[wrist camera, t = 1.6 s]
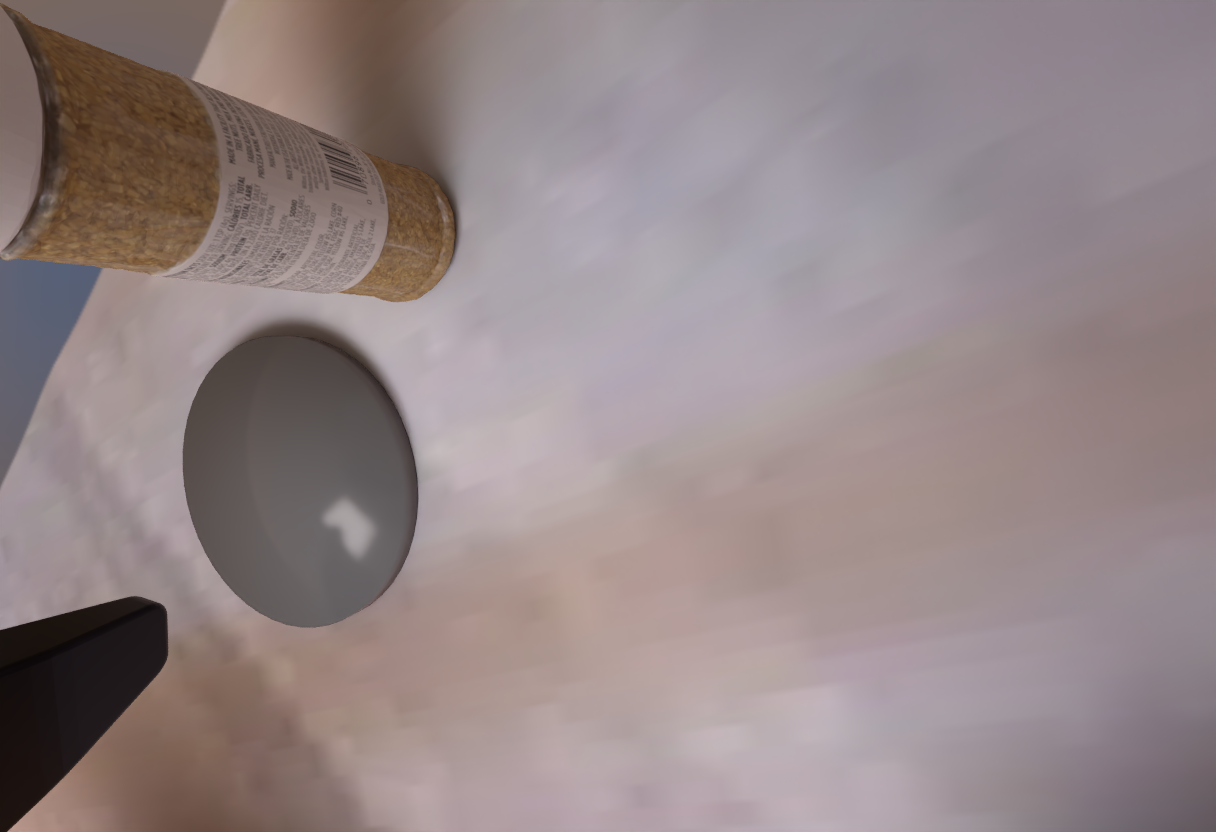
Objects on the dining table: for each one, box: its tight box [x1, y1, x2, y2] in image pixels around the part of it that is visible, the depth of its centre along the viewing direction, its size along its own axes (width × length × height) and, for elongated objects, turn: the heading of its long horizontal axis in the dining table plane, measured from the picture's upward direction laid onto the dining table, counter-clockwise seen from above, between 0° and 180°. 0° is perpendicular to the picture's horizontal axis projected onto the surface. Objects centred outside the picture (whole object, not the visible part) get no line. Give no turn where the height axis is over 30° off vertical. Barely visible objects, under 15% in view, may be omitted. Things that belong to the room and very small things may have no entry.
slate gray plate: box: [183, 336, 418, 627], centre depth 24 cm, size 11×11×1 cm
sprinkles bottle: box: [0, 3, 455, 302], centre depth 16 cm, size 5×5×14 cm
